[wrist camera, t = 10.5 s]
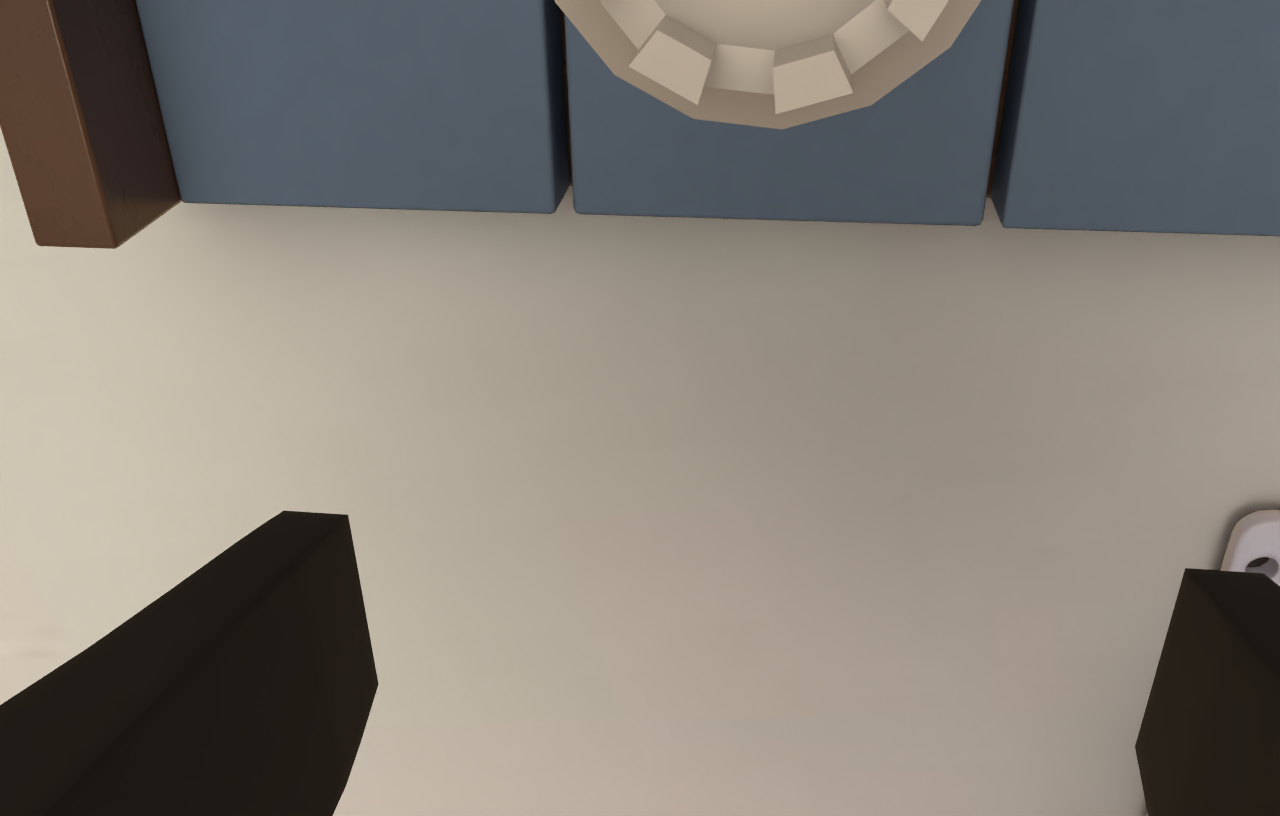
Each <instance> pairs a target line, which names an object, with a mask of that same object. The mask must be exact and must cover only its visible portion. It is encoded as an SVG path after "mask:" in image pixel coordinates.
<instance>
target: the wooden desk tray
mask: <svg viewBox="0 0 1280 816" xmlns="http://www.w3.org/2000/svg"><path fill="white" fill-rule="evenodd" d="M0 126H1V130H2V133H3V136H4V139H5V143H6V146H7V149H8V153H9V156H10V159H11V163H12V166H13V169H14V172H15V176H16V179H17V182H18V186H19V189H20V192H21V195H22V199H23V202H24V205H25V209H26V212H27V215H28V219H29V222H30V225H31V228H32V232H33V235H34V238H35V242H36V243H37V245H39V246H56V247H84V248H112V249H115V248H117V247H119V246H120V245H122V244H123V243H124V242H126V241H127V240H129V239H130V238H131V237H133V236H134V235H135V234H137V233H138V232H140V231H141V230H142V229H144V228H145V227H146V226H148V225H149V224H151V223H152V222H153V221H155V220H156V219H158V218H159V217H160V216H162V215H163V214H164V213H166V212H167V211H169V210H170V209H171V208H173V207H174V206H175V205H177V204H178V203H180V202H181V201H183V202H185V203H207V204H240V205H274V206H307V207H340V208H374V209H407V210H441V211H474V212H507V213H541V214H552V213H555V211H556V209H557V208H558V206H559V204H560V202H561V200H562V199H563V197H564V195H565V193H566V191H567V189H568V187H569V186H573V204H574V209H575V211H576V213H578V214H589V215H623V216H656V217H690V218H723V219H757V220H790V221H824V222H857V223H891V224H924V225H958V226H977V225H980V223H981V222H982V220H983V215H984V208H985V200H986V197H988V198H991V199H992V201H993V204H994V207H995V209H996V212H997V214H998V217H999V219H1000V222H1001V224H1002V227H1004V228H1023V229H1057V230H1090V231H1123V232H1157V233H1190V234H1223V235H1257V236H1280V0H981V2H980V3H979V5H978V6H977V8H976V9H975V11H974V12H973V14H972V15H971V17H970V18H969V20H968V21H967V23H966V24H965V26H964V27H963V29H962V30H961V32H960V34H959V35H958V37H957V38H956V40H955V41H954V43H953V44H952V46H951V47H950V48H949V49H947V50H946V51H944V52H943V53H942V54H940V55H939V56H938V57H936V58H935V59H934V60H932V61H931V62H930V63H928V64H927V65H925V66H924V67H923V68H921V69H920V70H919V71H917V72H916V73H915V74H913V75H912V76H910V77H909V78H908V79H906V80H905V81H904V82H902V83H901V84H900V85H898V86H897V87H895V88H894V89H893V90H891V91H890V92H889V93H887V94H886V95H885V96H883V97H882V98H880V99H879V100H878V101H876V102H875V103H874V104H872V105H871V106H867V107H863V108H860V109H856V110H852V111H848V112H845V113H841V114H837V115H834V116H830V117H826V118H823V119H819V120H815V121H811V122H808V123H804V124H800V125H797V126H793V127H789V128H786V129H774V128H765V127H757V126H749V125H740V124H732V123H724V122H716V121H707V120H699V119H693V118H691V117H689V116H687V115H685V114H684V113H682V112H680V111H678V110H677V109H675V108H673V107H671V106H669V105H668V104H666V103H664V102H662V101H660V100H659V99H657V98H655V97H653V96H651V95H650V94H648V93H646V92H644V91H642V90H641V89H639V88H637V87H635V86H633V85H632V84H630V83H628V82H626V81H624V80H623V79H621V78H619V77H617V76H615V75H614V74H613V72H612V71H611V70H610V69H609V68H608V66H607V65H606V64H605V63H604V61H603V60H602V59H601V58H600V57H599V55H598V54H597V53H596V52H595V50H594V49H593V48H592V47H591V45H590V44H589V43H588V42H587V41H586V39H585V38H584V37H583V36H582V34H581V33H580V32H579V31H578V30H577V28H576V27H575V26H574V25H573V23H572V22H571V21H570V20H569V19H568V17H567V16H566V15H565V14H564V12H563V11H562V10H561V9H560V7H559V6H558V5H557V4H556V3H555V1H554V0H0Z"/></svg>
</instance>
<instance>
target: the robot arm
mask: <svg viewBox="0 0 1280 816" xmlns="http://www.w3.org/2000/svg"><path fill="white" fill-rule="evenodd" d="M1262 557H1268V558H1269V560H1268V561H1267V562H1266V563H1264V564H1263V565H1261V566H1259V567H1251V568H1250V567H1247V565H1248V564H1249V563H1250V562H1251V561H1253V560H1255V559H1257V558H1262ZM377 687H378V680H377V674H376V669H375V663H374V657H373V652H372V646H371V641H370V635H369V630H368V624H367V618H366V613H365V607H364V602H363V596H362V590H361V585H360V579H359V574H358V568H357V563H356V557H355V551H354V546H353V540H352V535H351V529H350V524H349V518H348V515H341V514H326V513H310V512H294V511H283V512H281V513H280V514H278V515H277V516H275V517H273V518H272V519H270V520H269V521H267V522H266V523H264V524H263V525H261V526H260V527H258V528H257V529H255V530H254V531H252V532H251V533H249V534H248V535H247V536H245V537H244V538H242V539H241V540H239V541H238V542H237V543H235V544H234V545H232V546H231V547H230V548H228V549H227V550H225V551H224V552H223V553H221V554H220V555H218V556H217V557H216V558H214V559H213V560H211V561H210V562H209V563H207V564H206V565H204V566H203V567H202V568H200V569H199V570H197V571H196V572H195V573H193V574H192V575H191V576H189V577H188V578H186V579H185V580H184V581H182V582H181V583H179V584H178V585H177V586H175V587H174V588H173V589H171V590H170V591H168V592H167V593H165V594H164V595H163V596H161V597H160V598H158V599H157V600H156V601H154V602H153V603H151V604H150V605H148V606H147V607H146V608H144V609H143V610H141V611H140V612H139V613H137V614H136V615H134V616H133V617H131V618H130V619H129V620H127V621H126V622H124V623H123V624H122V625H120V626H119V627H117V628H116V629H114V630H113V631H112V632H110V633H109V634H107V635H106V636H105V637H103V638H102V639H100V640H99V641H97V642H96V643H95V644H93V645H92V646H90V647H89V648H87V649H86V650H84V651H83V652H81V653H80V654H78V655H77V656H75V657H74V658H72V659H71V660H69V661H67V662H66V663H64V664H63V665H61V666H60V667H58V668H57V669H55V670H54V671H52V672H51V673H49V674H47V675H46V676H44V677H43V678H41V679H40V680H38V681H37V682H35V683H34V684H32V685H31V686H29V687H28V688H26V689H24V690H23V691H21V692H20V693H18V694H17V695H15V696H14V697H12V698H11V699H9V700H8V701H6V702H4V703H3V704H1V705H0V816H332V815H333V813H334V811H335V809H336V807H337V804H338V802H339V800H340V798H341V795H342V793H343V791H344V789H345V787H346V784H347V781H348V778H349V775H350V772H351V769H352V766H353V763H354V760H355V757H356V754H357V751H358V748H359V745H360V742H361V739H362V736H363V733H364V729H365V726H366V723H367V720H368V716H369V713H370V710H371V707H372V703H373V700H374V697H375V693H376V690H377ZM1135 748H1136V753H1137V759H1138V764H1139V769H1140V775H1141V780H1142V785H1143V791H1144V796H1145V801H1146V807H1147V814H1146V816H1280V510H1260V511H1256V512H1253V513H1251V514H1248V515H1246V516H1245V517H1243V518H1242V519H1241V520H1240V521H1239V522H1237V524H1236V525H1235V527H1234V529H1233V531H1232V533H1231V536H1230V539H1229V543H1228V546H1227V549H1226V553H1225V556H1224V559H1223V563H1222V566H1221V569H1220V571H1219V570H1204V569H1188V568H1185V572H1184V575H1183V579H1182V582H1181V586H1180V589H1179V593H1178V596H1177V600H1176V603H1175V607H1174V611H1173V614H1172V618H1171V621H1170V625H1169V628H1168V632H1167V635H1166V639H1165V642H1164V646H1163V650H1162V653H1161V657H1160V660H1159V664H1158V667H1157V671H1156V674H1155V678H1154V681H1153V685H1152V689H1151V692H1150V696H1149V699H1148V703H1147V706H1146V710H1145V713H1144V717H1143V720H1142V724H1141V728H1140V731H1139V735H1138V738H1137V742H1136V745H1135Z"/></svg>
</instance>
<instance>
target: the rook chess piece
mask: <svg viewBox="0 0 1280 816" xmlns="http://www.w3.org/2000/svg"><path fill="white" fill-rule="evenodd" d="M554 1H555V3H556V4H557V5H558V6H559V7H560V9H561V10H562V11H563V12H564V14H565V15H566V16H567V17H568V19H569V20H570V21H571V22H572V23H573V25H574V26H575V27H576V28H577V30H578V31H579V32H580V33H581V34H582V36H583V37H584V38H585V39H586V41H587V42H588V43H589V44H590V45H591V47H592V48H593V49H594V50H595V52H596V53H597V54H598V55H599V57H600V58H601V59H602V60H603V61H604V63H605V64H606V65H607V66H608V68H609V69H610V70H611V71H612V72H613V74H614V75H615V76H617V77H619V78H621V79H623V80H624V81H626V82H628V83H630V84H632V85H633V86H635V87H637V88H639V89H641V90H642V91H644V92H646V93H648V94H650V95H651V96H653V97H655V98H657V99H659V100H660V101H662V102H664V103H666V104H668V105H669V106H671V107H673V108H675V109H677V110H678V111H680V112H682V113H684V114H685V115H687V116H689V117H691V118H693V119H699V120H707V121H716V122H724V123H732V124H740V125H749V126H757V127H765V128H774V129H786V128H789V127H793V126H797V125H800V124H804V123H808V122H811V121H815V120H819V119H823V118H826V117H830V116H834V115H837V114H841V113H845V112H848V111H852V110H856V109H860V108H863V107H867V106H871V105H872V104H874V103H875V102H876V101H878V100H879V99H880V98H882V97H883V96H885V95H886V94H887V93H889V92H890V91H891V90H893V89H894V88H895V87H897V86H898V85H900V84H901V83H902V82H904V81H905V80H906V79H908V78H909V77H910V76H912V75H913V74H915V73H916V72H917V71H919V70H920V69H921V68H923V67H924V66H925V65H927V64H928V63H930V62H931V61H932V60H934V59H935V58H936V57H938V56H939V55H940V54H942V53H943V52H944V51H946V50H947V49H949V48H950V47H951V46H952V44H953V43H954V41H955V40H956V38H957V37H958V35H959V34H960V32H961V30H962V29H963V27H964V26H965V24H966V23H967V21H968V20H969V18H970V17H971V15H972V14H973V12H974V11H975V9H976V8H977V6H978V5H979V3H980V2H981V0H554Z"/></svg>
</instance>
